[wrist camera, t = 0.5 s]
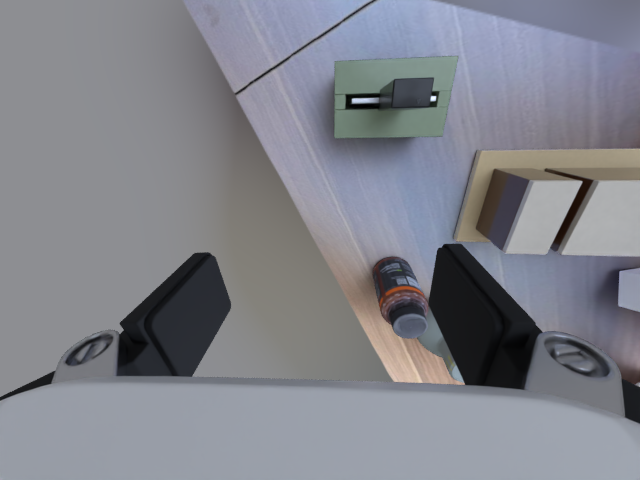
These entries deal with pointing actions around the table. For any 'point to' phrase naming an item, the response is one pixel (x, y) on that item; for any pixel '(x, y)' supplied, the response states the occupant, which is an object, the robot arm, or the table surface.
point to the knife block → (367, 83)
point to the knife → (401, 95)
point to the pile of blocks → (629, 290)
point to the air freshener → (438, 345)
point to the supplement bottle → (400, 297)
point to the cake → (554, 201)
